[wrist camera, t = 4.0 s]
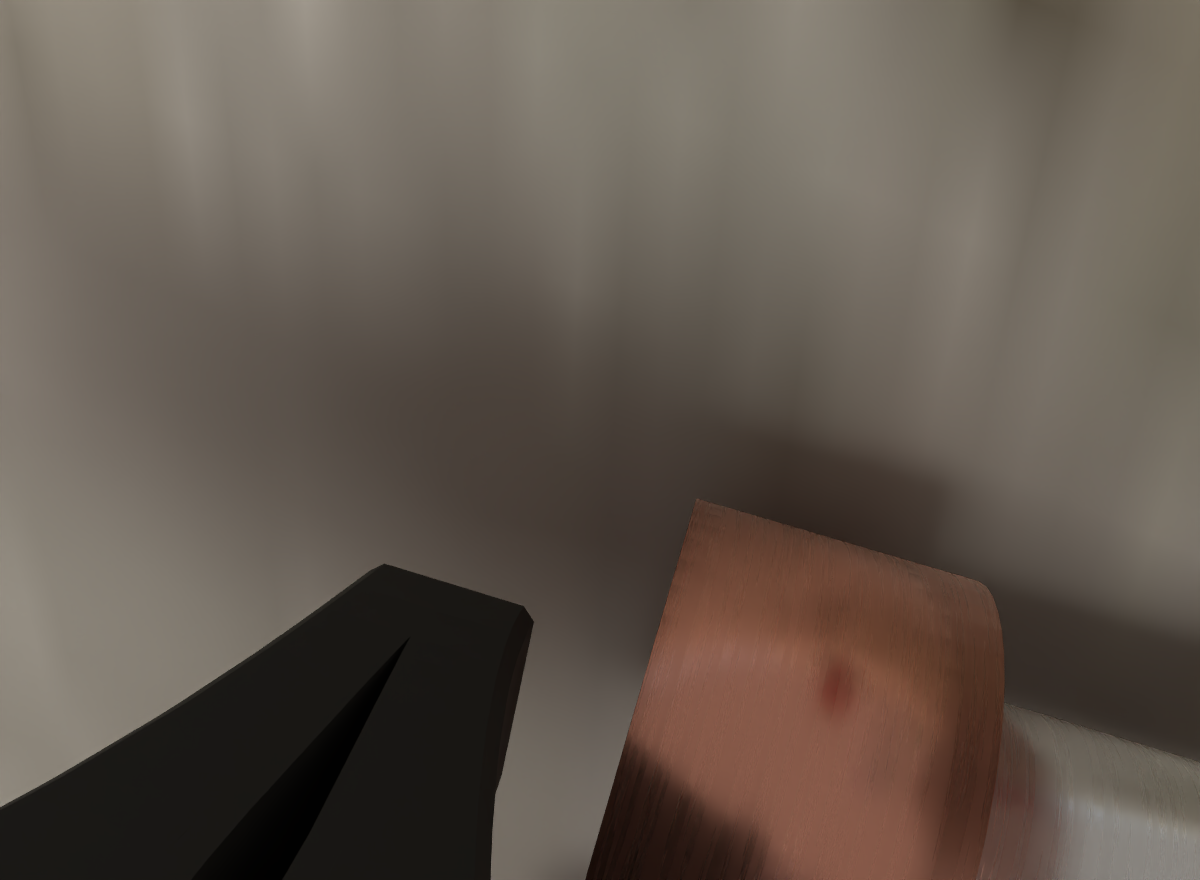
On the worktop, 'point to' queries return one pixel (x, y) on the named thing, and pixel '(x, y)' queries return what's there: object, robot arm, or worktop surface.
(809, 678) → the outer knob
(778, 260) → the worktop surface
